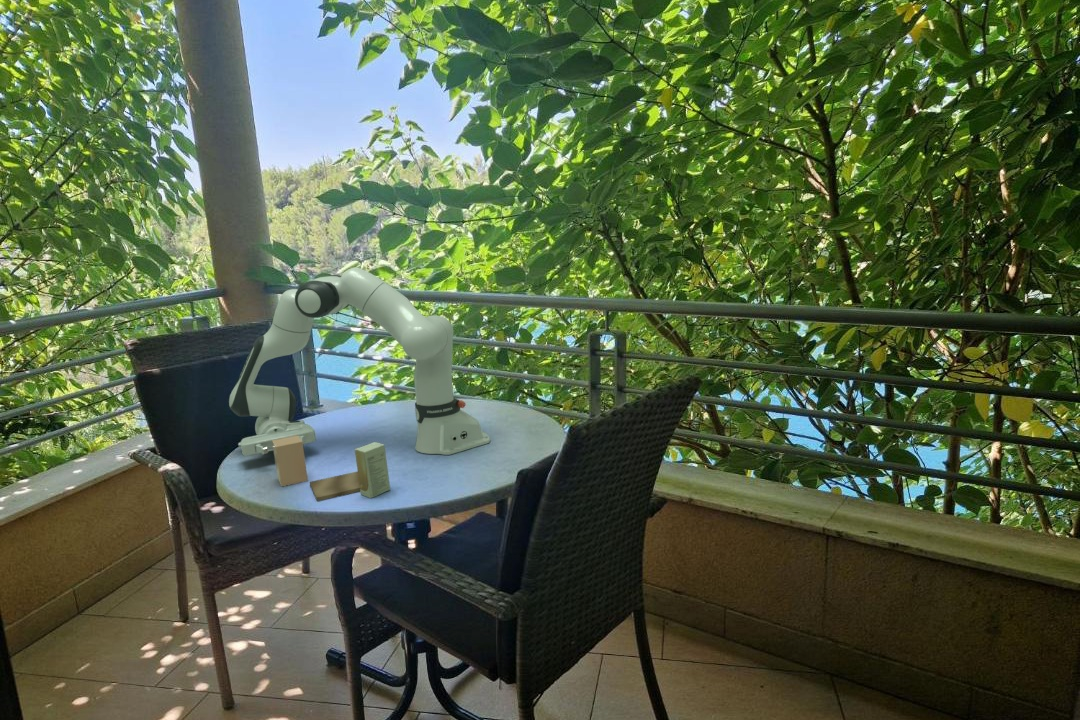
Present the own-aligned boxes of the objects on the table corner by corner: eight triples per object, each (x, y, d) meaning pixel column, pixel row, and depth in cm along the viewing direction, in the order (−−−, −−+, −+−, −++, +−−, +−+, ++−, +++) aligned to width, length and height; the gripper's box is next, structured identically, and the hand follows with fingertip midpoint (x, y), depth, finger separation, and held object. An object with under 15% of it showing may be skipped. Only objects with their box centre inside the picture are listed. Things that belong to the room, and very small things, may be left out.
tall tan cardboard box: (303, 473, 172) (297, 435, 170) (307, 480, 166) (302, 441, 164) (277, 479, 169) (271, 440, 167) (281, 486, 163) (275, 447, 161)
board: (360, 474, 169) (359, 470, 169) (370, 489, 159) (370, 485, 158) (310, 485, 163) (309, 481, 163) (317, 501, 153) (316, 497, 152)
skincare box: (380, 486, 160) (375, 441, 157) (391, 490, 157) (386, 444, 155) (359, 495, 155) (353, 448, 153) (369, 499, 152) (364, 451, 150)
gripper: (235, 432, 182) (240, 444, 171) (308, 418, 192) (318, 429, 181) (239, 453, 184) (244, 466, 172) (311, 438, 194) (320, 450, 182)
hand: (282, 447), depth 176 cm, fingers open, 8 cm apart
